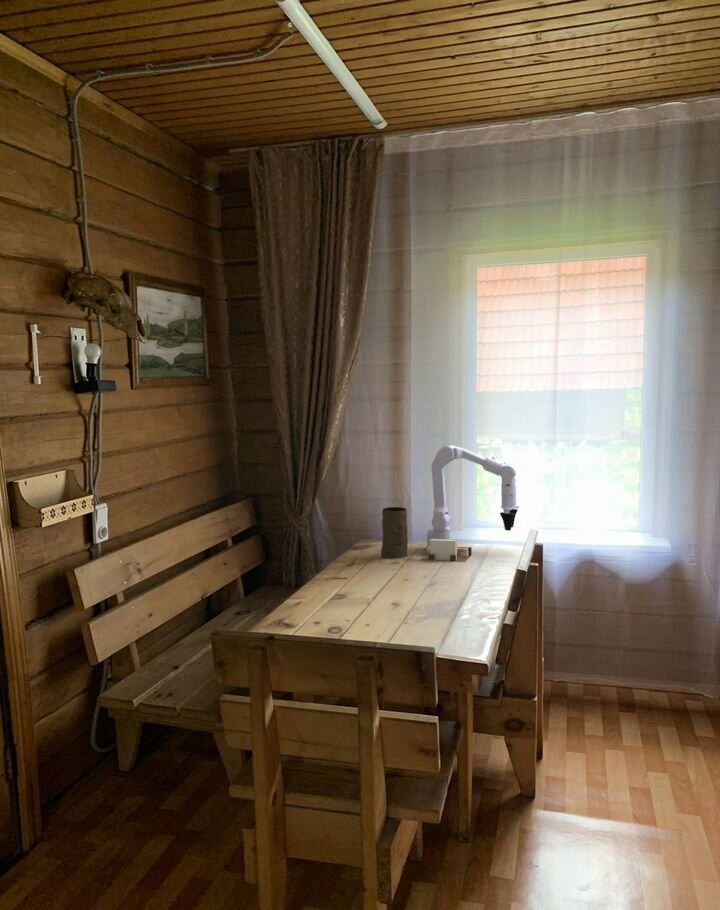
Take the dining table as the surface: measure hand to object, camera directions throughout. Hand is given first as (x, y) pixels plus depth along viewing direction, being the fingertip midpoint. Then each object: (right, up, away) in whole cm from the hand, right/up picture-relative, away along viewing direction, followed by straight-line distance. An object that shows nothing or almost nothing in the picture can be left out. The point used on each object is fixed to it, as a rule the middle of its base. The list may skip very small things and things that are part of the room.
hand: (509, 528), depth 279 cm
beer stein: (-47, -12, +1) cm, 49 cm away
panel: (-28, -11, -10) cm, 31 cm away
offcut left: (-30, -10, -1) cm, 32 cm away
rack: (-26, -11, -7) cm, 29 cm away
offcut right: (-20, -10, -5) cm, 23 cm away
